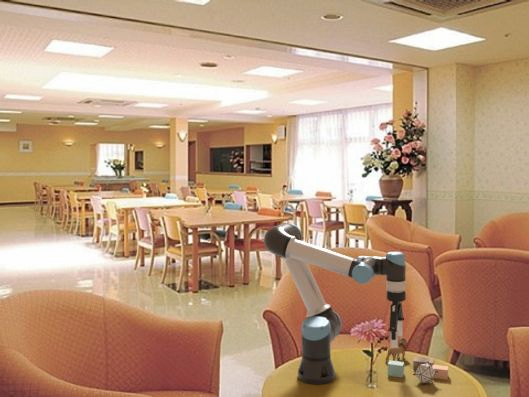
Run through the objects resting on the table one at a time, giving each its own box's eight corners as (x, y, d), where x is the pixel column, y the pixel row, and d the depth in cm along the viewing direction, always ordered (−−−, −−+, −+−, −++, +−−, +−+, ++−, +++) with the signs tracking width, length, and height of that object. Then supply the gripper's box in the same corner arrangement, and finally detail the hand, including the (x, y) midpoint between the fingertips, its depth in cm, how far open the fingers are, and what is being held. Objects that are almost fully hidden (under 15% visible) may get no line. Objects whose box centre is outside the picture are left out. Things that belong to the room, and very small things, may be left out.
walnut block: (413, 370, 221) (413, 360, 221) (414, 365, 226) (414, 356, 225) (433, 372, 218) (433, 363, 218) (434, 368, 223) (434, 358, 222)
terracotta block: (431, 377, 213) (432, 368, 213) (432, 374, 217) (432, 364, 216) (447, 379, 211) (447, 370, 210) (448, 375, 215) (448, 366, 214)
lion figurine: (398, 354, 238) (398, 334, 238) (409, 356, 235) (409, 337, 234) (382, 364, 227) (382, 343, 227) (394, 367, 224) (394, 346, 223)
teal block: (387, 375, 216) (387, 363, 215) (389, 371, 220) (389, 360, 219) (402, 377, 214) (402, 365, 213) (404, 373, 217) (404, 362, 217)
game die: (429, 393, 207) (439, 380, 201) (408, 384, 208) (418, 371, 202) (432, 375, 214) (441, 361, 207) (411, 366, 215) (420, 352, 209)
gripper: (401, 299, 201) (401, 353, 202) (409, 283, 224) (409, 332, 225) (381, 297, 203) (381, 351, 205) (391, 282, 226) (392, 330, 228)
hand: (396, 341), depth 215 cm, fingers open, 13 cm apart
